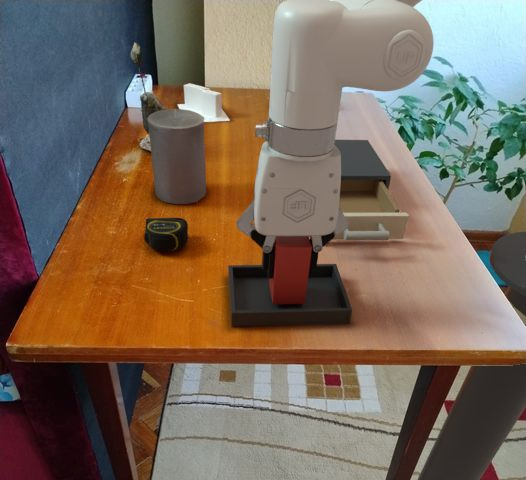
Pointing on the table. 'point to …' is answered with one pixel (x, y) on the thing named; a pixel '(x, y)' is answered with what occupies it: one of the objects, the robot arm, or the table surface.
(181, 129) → the pillar candle
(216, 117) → the napkin holder
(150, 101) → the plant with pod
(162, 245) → the tape measure
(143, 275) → the table surface
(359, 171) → the cabinet
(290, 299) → the card box
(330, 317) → the tray
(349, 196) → the drawer
